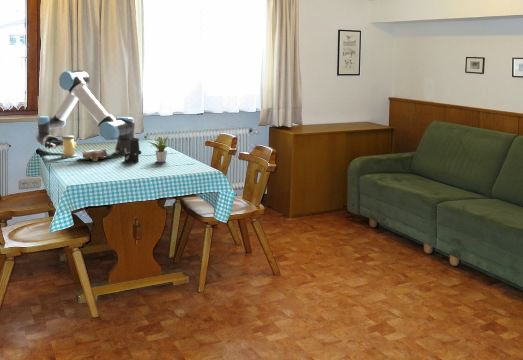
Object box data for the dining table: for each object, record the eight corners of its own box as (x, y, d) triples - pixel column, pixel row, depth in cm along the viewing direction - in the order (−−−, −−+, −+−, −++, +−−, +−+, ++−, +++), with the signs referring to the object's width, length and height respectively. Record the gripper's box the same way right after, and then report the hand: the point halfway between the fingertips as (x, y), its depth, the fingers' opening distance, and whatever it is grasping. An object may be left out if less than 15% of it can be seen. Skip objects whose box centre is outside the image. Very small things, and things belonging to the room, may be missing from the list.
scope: (123, 138, 388) (140, 137, 391) (124, 160, 391) (140, 159, 394) (124, 140, 380) (141, 139, 383) (125, 163, 383) (142, 162, 386)
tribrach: (105, 156, 404) (105, 149, 403) (107, 160, 391) (106, 152, 390) (82, 157, 400) (82, 150, 399) (83, 161, 387) (83, 154, 386)
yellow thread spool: (76, 155, 409) (75, 135, 406) (76, 157, 400) (75, 137, 397) (61, 156, 406) (60, 135, 403) (61, 158, 398) (60, 137, 395)
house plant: (162, 157, 400) (161, 131, 397) (178, 160, 392) (177, 133, 389) (145, 161, 389) (144, 134, 385) (162, 163, 381) (161, 136, 378)
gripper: (69, 145, 428) (84, 149, 413) (33, 149, 412) (47, 153, 396) (68, 134, 427) (83, 137, 411) (32, 137, 410) (46, 141, 395)
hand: (65, 145), depth 404 cm, fingers open, 13 cm apart
